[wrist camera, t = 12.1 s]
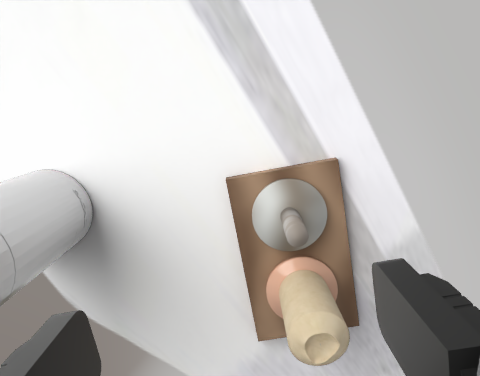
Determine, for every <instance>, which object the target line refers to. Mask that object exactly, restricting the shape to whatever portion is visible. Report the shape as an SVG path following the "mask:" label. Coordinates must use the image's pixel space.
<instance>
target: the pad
mask: <svg viewBox="0 0 480 376" xmlns="http://www.w3.org/2000/svg"><path fill="white" fill-rule="evenodd" d="M298 270H310V271H313V272H316V273H317V274H319V275H320V276H321V277H322V278H323V279H324V280H325V282H326V284H327V286H328V287H329V290H330V292H331V294H332V296H333V298H334V300H335V301H336V299H337V294H338V286H337V281H336V279H335V276H334V274H333V273H332V271H331V269H330V268H329V267H328V266H327V265H326V264H325V263H324V262H322V261H321V260H319V259H317V258H314V257H310V256H294V257H290V258H287V259H285V260H283V261H282V262H280V263H279V264H278V265H276V266H275V267H274V269H273V270H272V271H271V273H270V275H269V277H268V279H267V283H266V294H267V300H268V303H269V305H270V307H271V308H272V310H273V311H274V312H275V313H276V314H277V315H278V316H279V317H281V318H283V314H282V309H281V304H280V298H279V289H280V286H281V283H282V281H283V280H284V279H285V278H286V277H287V276H288V275H289V274H291V273H292V272H295V271H298Z"/></svg>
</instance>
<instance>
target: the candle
mask: <svg viewBox="0 0 480 376" xmlns="http://www.w3.org/2000/svg"><path fill="white" fill-rule="evenodd" d="M279 298H280V304H281V309H282V314H283V320H284V325H285V330H286V335H287V341H288V345H289V348H290V351H291V352H292V354H293V355H294V356H295V357H296V358H297V359H298V360H299V361H301V362H303V363H305V364H308V365H313V366H322V365H327V364H330V363H332V362H334V361H336V360H337V359H339V358H340V357H341V356H342V355H343V354H344V352H345V351H346V349H347V347H348V345H349V339H350V336H349V330H348V327H347V325H346V323H345V321H344V319H343V317H342V315H341V313H340V311H339V308H338V306H337V304H336V302H335V300H334V298H333V296H332V294H331V292H330V290H329V287H328V286H327V284H326V282H325V280H324V279H323V278H322V277H321V276H320V275H319V274H317V273H316V272H313V271H310V270H298V271H295V272H292V273H291V274H289V275H288V276H287V277H286V278H285V279H284V280H283V281H282V283H281V286H280V289H279Z"/></svg>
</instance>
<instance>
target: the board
mask: <svg viewBox="0 0 480 376" xmlns="http://www.w3.org/2000/svg"><path fill="white" fill-rule="evenodd" d="M226 183H227V188H228V193H229V198H230V203H231V208H232V213H233V218H234V223H235V228H236V233H237V238H238V243H239V248H240V253H241V258H242V262H243V267H244V272H245V277H246V282H247V287H248V292H249V297H250V302H251V307H252V312H253V317H254V322H255V327H256V332H257V337H258V341H264V340H270V339H277V338H283V337H287V335H286V330H285V325H284V320H283V318H281V317H279V316H278V315H277V314H276V313H275V312H274V311H273V310H272V308H271V307H270V305H269V303H268V300H267V294H266V283H267V279H268V277H269V275H270V273H271V271H272V270H273V269H274V267H275V266H276V265H278V264H279V263H280V262H282V261H283V260H285V259H287V258H290V257H294V256H310V257H314V258H317V259H319V260H321V261H322V262H324V263H325V264H326V265H327V266H328V267H329V268H330V269H331V271H332V273H333V274H334V276H335V279H336V281H337V286H338V294H337V299H336V301H335V302H336V304H337V306H338V308H339V311H340V313H341V315H342V317H343V319H344V321H345V323H346V325H347V327H353V326H359V320H358V312H357V304H356V296H355V288H354V281H353V273H352V265H351V257H350V249H349V242H348V234H347V226H346V218H345V210H344V202H343V195H342V187H341V179H340V171H339V163H338V159H337V158H331V159H325V160H320V161H314V162H309V163H303V164H298V165H292V166H287V167H281V168H276V169H270V170H265V171H259V172H254V173H248V174H243V175H237V176H232V177H227V178H226Z"/></svg>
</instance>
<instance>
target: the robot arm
mask: <svg viewBox="0 0 480 376" xmlns="http://www.w3.org/2000/svg"><path fill="white" fill-rule="evenodd" d="M92 215H93V210H92V205H91V201H90V199H89V196H88V194H87V192H86V191H85V189H84V188H83V187H82V186H81V185H80V184H79V183H78V182H77V181H76V180H75V179H74V178H72V177H71V176H69V175H67V174H65V173H62V172H60V171H55V170H39V171H34V172H31V173H28V174H25V175H22V176H19V177H16V178H12V179H9V180H6V181H3V182H0V306H2V305H3V304H4V303H5V302H6V301H8V300H9V299H10V298H11V297H12V296H13V295H15V294H16V293H17V292H18V291H20V290H21V289H22V288H23V287H24V286H25V285H27V284H28V283H29V282H30V281H32V280H33V279H34V278H35V277H36V276H38V275H39V274H40V273H41V272H42V271H44V270H45V269H46V268H47V267H48V266H50V265H51V264H52V263H53V262H54V261H56V260H57V259H58V258H59V257H60V256H62V255H63V254H64V253H65V252H67V251H68V250H69V249H70V248H71V247H73V246H74V245H75V244H76V243H77V242H79V241H80V240H81V239H82V238H83V237H84V236H85V235H86V234H87V232H88V230H89V228H90V226H91V222H92ZM372 276H373V285H374V294H375V302H376V311H377V318H378V323H379V327H380V330H381V333H382V335H383V337H384V339H385V341H386V343H387V345H388V346H389V348H390V350H391V351H392V353H393V355H394V356H395V358H396V360H397V361H398V363H399V365H400V367H401V368H402V370H403V372H404V373H405V375H406V376H480V310H479V309H478V308H477V307H475V306H473V304H472V303H471V302H470V301H469V300H468V299H467V298H466V297H464V296H462V295H461V293H460V292H459V291H457V290H456V289H455V288H454V287H453V286H452V285H451V284H450V283H449V282H447V281H445V280H443V279H440V278H438V277H436V276H433V275H431V274H429V273H427V274H421V275H419V274H418V273H417V272H416V271H415V270H414V269H413V268H412V267H411V266H410V265H409V264H408V263H407V262H406V261H405V260H404V259H402V258H400V259H394V260H387V261H381V262H375V263H373V265H372ZM100 373H101V360H100V356H99V353H98V350H97V346H96V343H95V340H94V337H93V334H92V330H91V327H90V324H89V321H88V318H87V316H86V314H85V313H84V312H83V311H80V310H79V311H74V312H67V313H61V314H55V315H52V316H51V317H50V318H49V319H48V320H47V321H46V322H45V323H44V324H43V326H42V327H41V328H40V329H39V330H38V331H37V332H36V333H35V334H34V336H33V337H32V338H31V339H30V340H28V341H27V342H25V343H24V344H23V345H21V346H20V347H19V348H17V349H16V350H15V351H14V352H13V353H12V354H11V355H10V356H9V357H8V358H7V359H6V360H5V361H4V362H3V364H2V365H1V368H0V376H100Z"/></svg>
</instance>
